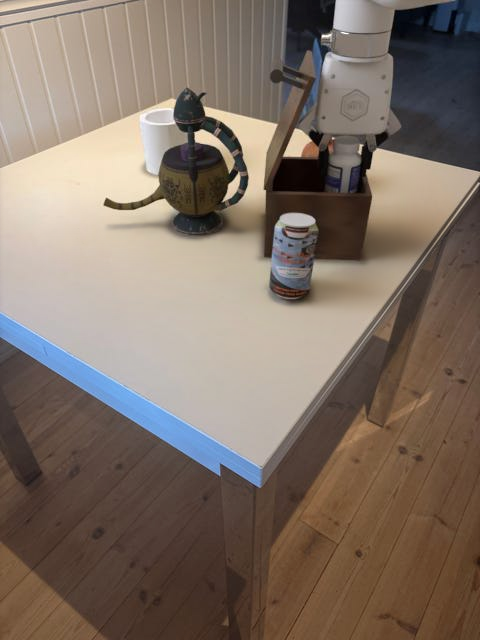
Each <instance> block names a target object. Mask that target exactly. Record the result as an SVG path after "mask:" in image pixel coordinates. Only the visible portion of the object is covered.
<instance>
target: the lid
mask: <svg viewBox="0 0 480 640" xmlns="http://www.w3.org/2000/svg"><path fill="white" fill-rule="evenodd" d="M284 73H286V74H288V75H291V76H293V78H292V77H290V76H287V75H285V74H284ZM294 77H295V78H294ZM269 80H270V81H271V83H273V84H280V83H281V82H283V83H286V84H288V85H290V86H292V88H291V90H290V93H289V95H288V97H287V100H286V102H285V105H284V106H283V107H284V108H283V110H282V112H281V114H280V117H279V120H278V123H277V125H276V128H275V130H274V133H273V135H272V138H271V139H270V140H271V141H270V142H269V145H268V148H267V150H266V156H265V167H264V177H263V188H262V189H263V191H265V192H266V191H269V189H270V186H271V184H272V181H273V179H274V177H275V174H276V172H277V170H278V167H279V165H280V163H281V160H282V158H283V157H284V156H285V153H286V151H287V148H288V146H289V144H290V141H291V139H292V136H293V134H294V132H295V129H296V127H297V125H298V123H299V121H300V119H301V115H302V113H303V110H304V108H305V105H306V104H307V101H308V99H309V96H310V94H311V92H312V90H313V87H314V84H315V82H316V80H317V76H316V70H315V61H314V56H313V51H311V50H306V52H305V54H304V57H303V60H302V62H301V65H300V67H299V70H297V69H295V68H292V67H290V66H288V65H285V64H284V61H283V60H282V59H281V58H279V57H275V58H273V59H272V60H271V63H270V71H269Z"/></svg>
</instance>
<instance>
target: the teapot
mask: <svg viewBox="0 0 480 640" xmlns="http://www.w3.org/2000/svg"><path fill="white" fill-rule="evenodd" d="M206 95H208V93H207V92H204V91H203V92H202V91H201V92H200V93H199V94H198V95H197V94H196V92H194V91H193V90H192V89H190V88H189V87H186V88H185V89H184V90H183V91H181V92H180V94H179V95H178V97H177V98H176V100H175V103H174V107H173V109H174V112H173V120H174V121H175V123H176V125H177V126H178V128H179V130H180V131H182V132H185V133H188V134H187V136H188V143H184V144H182V145H178V146H175V147H172V148H170V149H168V150H167V151H166V152H165V153H164V155H163V158H162V161H161V165H160V168H159V174H158V175H157V176H158V183H159V185H158V186H157V188H156V189H155V191H154V192H152V193H151V194H150V195H149V196H147V197H145V198H144V199H141V200H138V201H132V202H127V203H126V202H117V201H113V200H112V199H110V198H108V197H105V199H104V202H103V206H104V207H106V208H109V209H112V210H117V211H135V210H138V209H140V208H145V207H147V206H149V205H150V204H153V203H155V202H157V201H161V200H166V202H167V203H168V204H169V206H171V208H173V209H175V210H176V211H178V213H177V214H176V215H174V217H173V219H172V223H171V224H172V227H173V229H174V230H175V231H176V232H178V233H180V234H182V235H186V236H190V237H200V236H206V235H210V234H212V233H215V232H216V231H218V230H219V229H220V228H221V227H222V225H223V217H222V215H221V214H220V213H218V212H222V211H224V210H226V209H228V208H230V207H232V206H235V205H237V204H239V202H240V201H241V200H242V199H243V197H244V195H245V193H246V191H247V189H248V187H249V186H248V185H249V179H250V176H249V172H248V166H247V164H246V162H245V160H244V153H243V152H244V151H243V147H242V144H241V142H240V140H239V138H238V137H237V135H236V134H235V132H234V131H233V130H232V129H231V128H230V127H229V126H228V125H226V124H225V123H224V122H223V121H222V120H219V119H217V118H215V117H212V116H207V115H206V111H205V107H204V105H203V103H202V101H201V99H202V98H203V97H204V96H206ZM202 130H203V131H204V132H207V133H210V134H211V135H212V136H213V137H215V138H216V139H218V140H219V141H220V142H221V144H223V146H224V147H225V148H226V149H227V150H228V152H229V153H230V155H231V157H232V159H233V160H234V163H233V166H232V168H231V170H230V171H229V167H228V164H227V162H226V160H225V158H224V155H223V153H222V151H221V150H220V149H219V148H218V147H216V146H213V145H212V144H211V145H210V144H207V143H201V142H197V141H196V134H195V133H197V132H200V131H202ZM238 175H239V184H238V187H237V189H236V192H235V193H234V194H233V195H232V197H230V198H228V199H226V200H224V199H225V198H226V196H227V194H228V189H229V185H230V184H231V183H232V182H234V180H235V179H236V177H237V176H238Z"/></svg>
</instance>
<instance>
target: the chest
mask: <svg viewBox="0 0 480 640" xmlns="http://www.w3.org/2000/svg"><path fill="white" fill-rule="evenodd" d="M325 178H326V176H322V171H321V169H318V157H301V156H283V158H282V160H281V163H280V165H279V167H278V170H277V172H276V174H275V177H274V179H273V181H272V184H271V186H270V189H269V191H266V190H265V202H264V203H265V205H264V207H265V208H264V210H265V211H264V215H265V216H264V242H263V243H264V247H263V257H264V258H272V251H273V240H274V230H275V225H276V223H277V222H278V221H279V220H280V216H281V215H283V214H286V213H302V214H306V215H309V216H311V217H313V218H314V219H315V224H316V226H317V228H318V237H317V243H316V250H315V257H314V260H315V259H316V260H317V259H318V260H322V259H323V260H342V261H343V260H345V261H362V255H363V250H364V244H365V240H366V233H367V230H368V224H369V218H370V213H371V207H372V201H373V193H372V190H371V186H370V182H369V178H368V175H367V174H366V176H365V177H362V176H359V183H358V190H357V193H330V192H324V189H325Z"/></svg>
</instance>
